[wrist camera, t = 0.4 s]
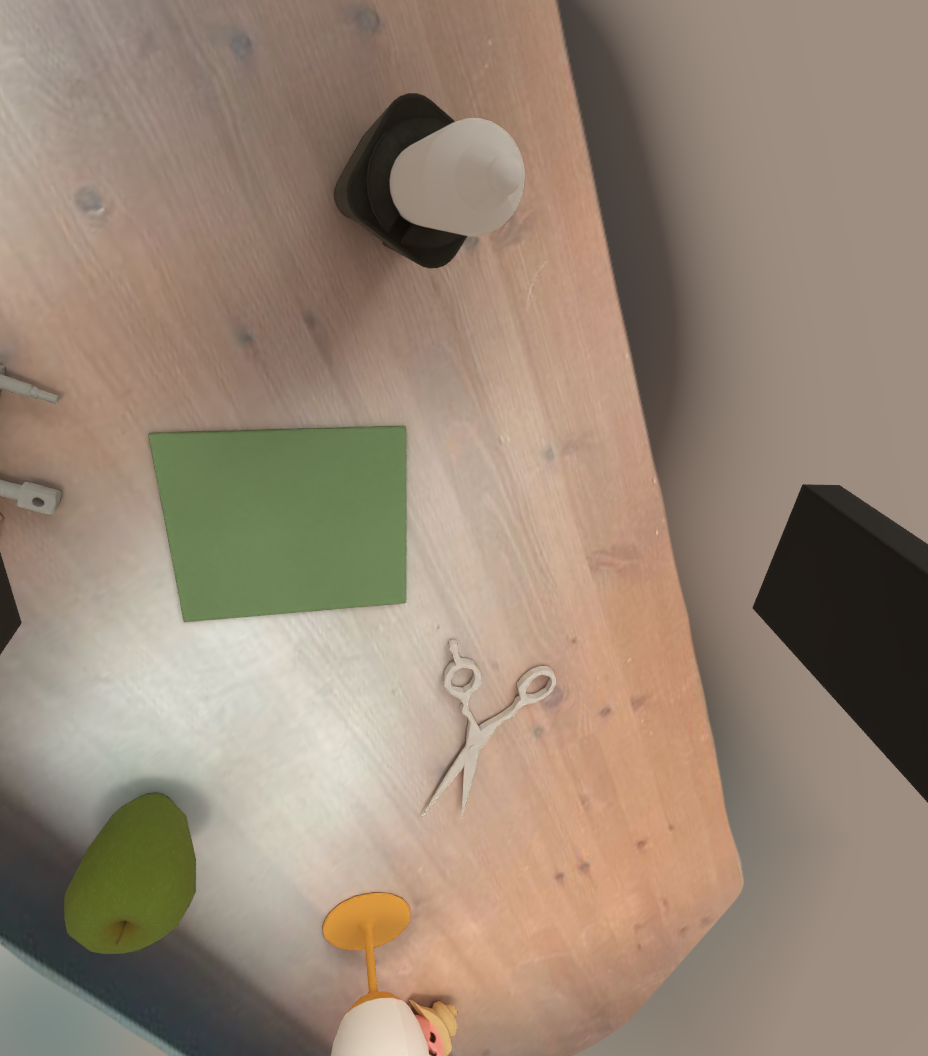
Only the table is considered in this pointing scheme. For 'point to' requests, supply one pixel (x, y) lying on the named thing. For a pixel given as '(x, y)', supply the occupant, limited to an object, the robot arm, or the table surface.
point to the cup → (373, 980)
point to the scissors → (482, 733)
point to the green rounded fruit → (133, 878)
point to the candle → (430, 180)
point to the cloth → (284, 518)
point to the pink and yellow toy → (437, 1026)
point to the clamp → (28, 491)
